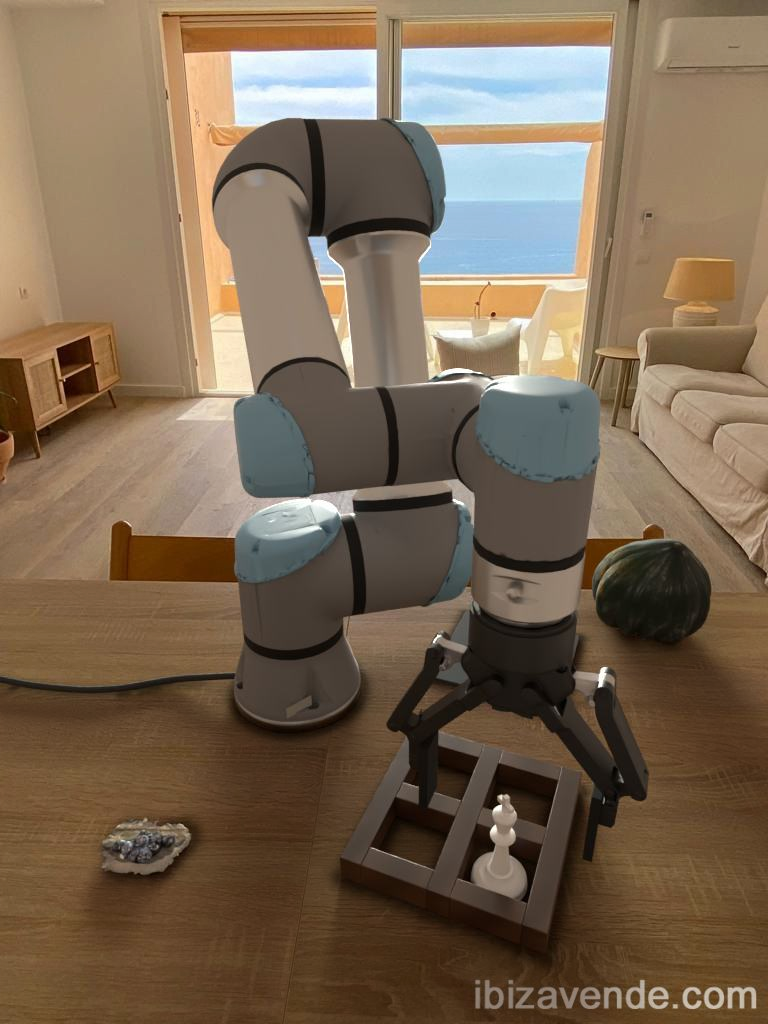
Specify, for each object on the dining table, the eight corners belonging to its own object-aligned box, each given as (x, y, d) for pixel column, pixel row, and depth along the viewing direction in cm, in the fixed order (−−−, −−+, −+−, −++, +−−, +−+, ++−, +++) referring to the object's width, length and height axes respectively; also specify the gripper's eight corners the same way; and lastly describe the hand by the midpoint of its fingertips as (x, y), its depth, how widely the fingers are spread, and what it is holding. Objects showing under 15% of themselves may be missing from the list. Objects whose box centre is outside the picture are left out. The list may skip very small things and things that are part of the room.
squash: (586, 554, 104) (608, 514, 90) (690, 565, 102) (729, 526, 88) (584, 648, 98) (606, 621, 85) (694, 661, 96) (735, 635, 83)
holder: (340, 877, 61) (339, 857, 60) (412, 741, 76) (412, 724, 75) (545, 954, 55) (547, 934, 54) (579, 790, 70) (582, 771, 69)
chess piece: (492, 916, 58) (499, 830, 54) (459, 870, 62) (464, 787, 58) (539, 891, 60) (549, 806, 56) (504, 848, 64) (512, 766, 60)
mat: (428, 678, 86) (428, 676, 86) (465, 613, 100) (465, 610, 100) (558, 711, 81) (559, 709, 80) (579, 637, 94) (579, 635, 94)
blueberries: (101, 831, 66) (97, 816, 65) (187, 806, 69) (184, 792, 68) (102, 891, 60) (98, 876, 59) (196, 862, 63) (193, 847, 62)
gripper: (341, 592, 50) (350, 808, 59) (718, 672, 41) (663, 913, 50) (381, 548, 57) (384, 749, 65) (716, 609, 48) (667, 833, 56)
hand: (505, 821), depth 58 cm, fingers open, 13 cm apart
